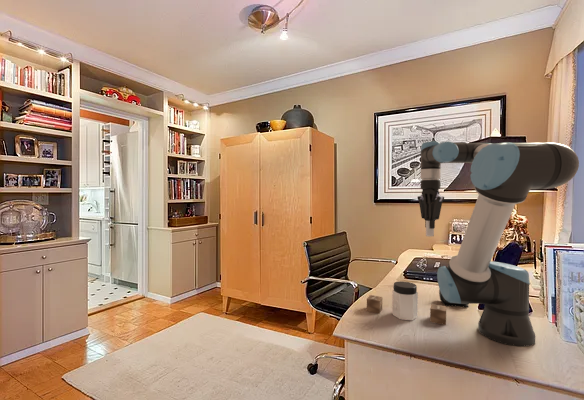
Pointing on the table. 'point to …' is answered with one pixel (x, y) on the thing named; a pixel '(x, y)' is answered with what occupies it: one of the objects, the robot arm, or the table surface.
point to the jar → (405, 300)
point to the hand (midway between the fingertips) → (429, 236)
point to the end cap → (450, 303)
